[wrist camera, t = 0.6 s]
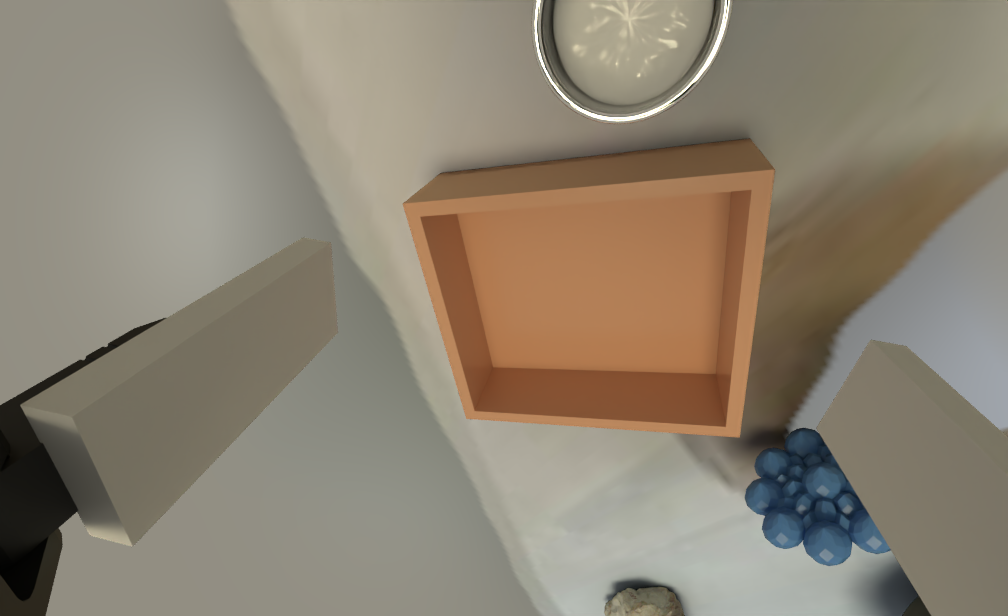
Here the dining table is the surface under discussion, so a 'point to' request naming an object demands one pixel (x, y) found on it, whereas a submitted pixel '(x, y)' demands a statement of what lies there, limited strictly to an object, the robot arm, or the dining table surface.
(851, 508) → the grapes
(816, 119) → the dining table surface
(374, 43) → the dining table surface
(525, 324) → the open box
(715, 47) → the beer glass
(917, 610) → the coal bowl
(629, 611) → the seashell
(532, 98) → the dining table surface
